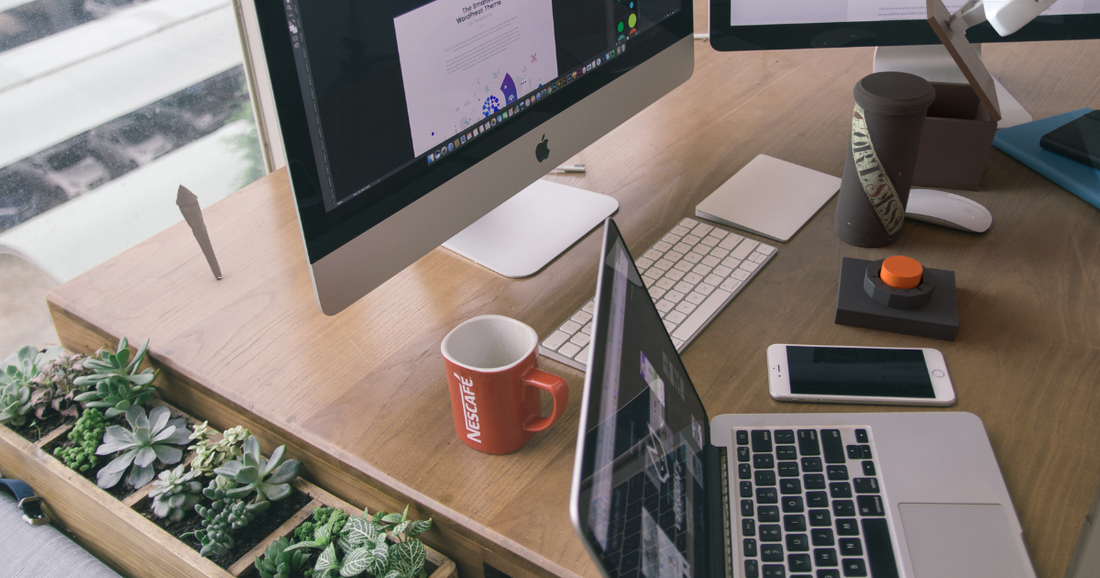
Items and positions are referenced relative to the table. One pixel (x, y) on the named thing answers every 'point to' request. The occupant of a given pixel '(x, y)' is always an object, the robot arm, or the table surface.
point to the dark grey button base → (897, 301)
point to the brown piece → (964, 57)
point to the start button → (901, 272)
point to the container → (881, 157)
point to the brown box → (954, 139)
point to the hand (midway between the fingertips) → (951, 26)
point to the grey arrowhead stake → (197, 225)
